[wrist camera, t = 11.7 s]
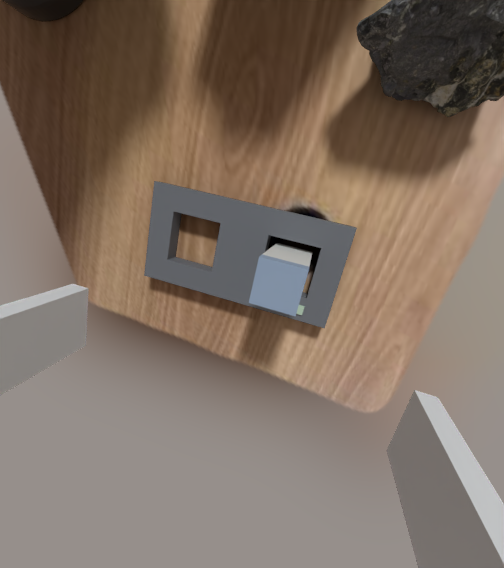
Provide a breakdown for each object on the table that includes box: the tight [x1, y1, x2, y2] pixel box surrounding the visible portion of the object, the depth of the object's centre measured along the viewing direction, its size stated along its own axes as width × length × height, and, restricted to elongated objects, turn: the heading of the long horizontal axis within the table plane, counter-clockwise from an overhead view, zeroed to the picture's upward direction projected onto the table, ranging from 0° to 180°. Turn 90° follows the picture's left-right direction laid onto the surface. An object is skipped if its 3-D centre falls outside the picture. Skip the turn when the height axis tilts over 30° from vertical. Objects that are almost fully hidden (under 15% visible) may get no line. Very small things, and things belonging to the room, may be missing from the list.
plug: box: [249, 243, 312, 316], centre depth 28 cm, size 4×4×10 cm
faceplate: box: [144, 181, 357, 328], centre depth 32 cm, size 22×11×2 cm, turn 77°
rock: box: [357, 0, 504, 117], centre depth 22 cm, size 12×10×10 cm
